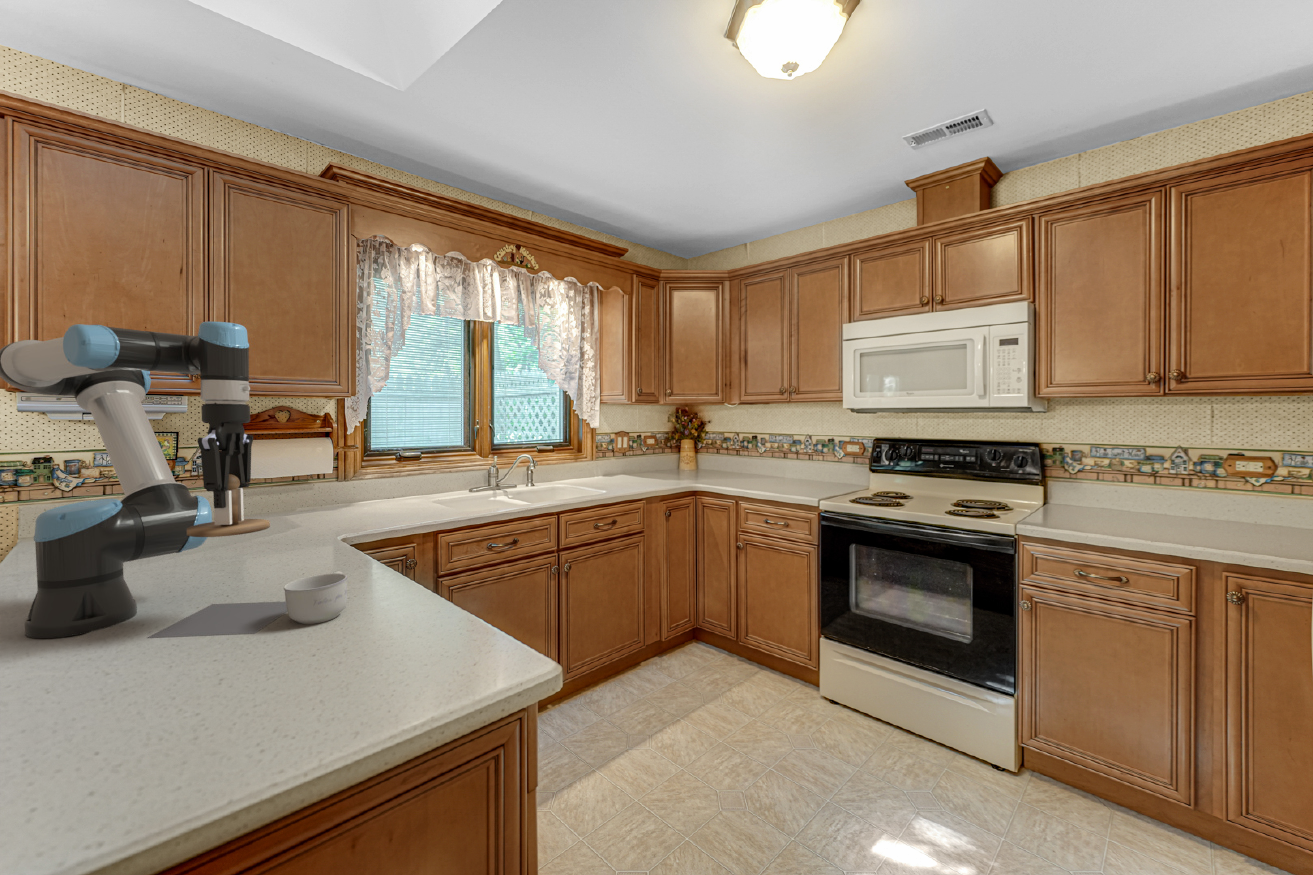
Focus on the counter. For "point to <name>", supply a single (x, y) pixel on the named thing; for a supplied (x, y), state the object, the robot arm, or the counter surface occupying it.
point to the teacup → (316, 597)
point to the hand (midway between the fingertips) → (229, 522)
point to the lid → (236, 525)
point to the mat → (226, 620)
